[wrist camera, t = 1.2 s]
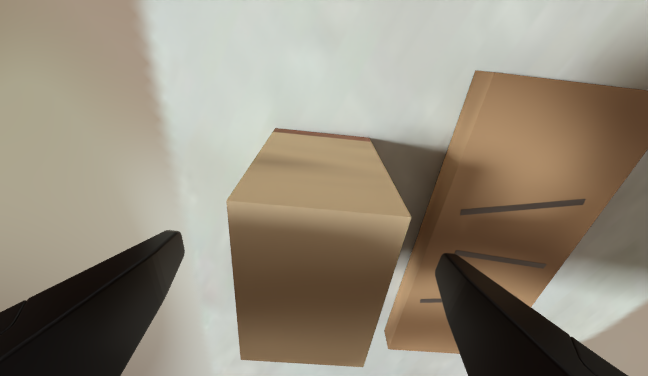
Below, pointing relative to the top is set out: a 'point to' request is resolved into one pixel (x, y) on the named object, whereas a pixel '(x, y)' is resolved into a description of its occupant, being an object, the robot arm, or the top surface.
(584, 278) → the top surface
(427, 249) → the board
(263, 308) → the block
